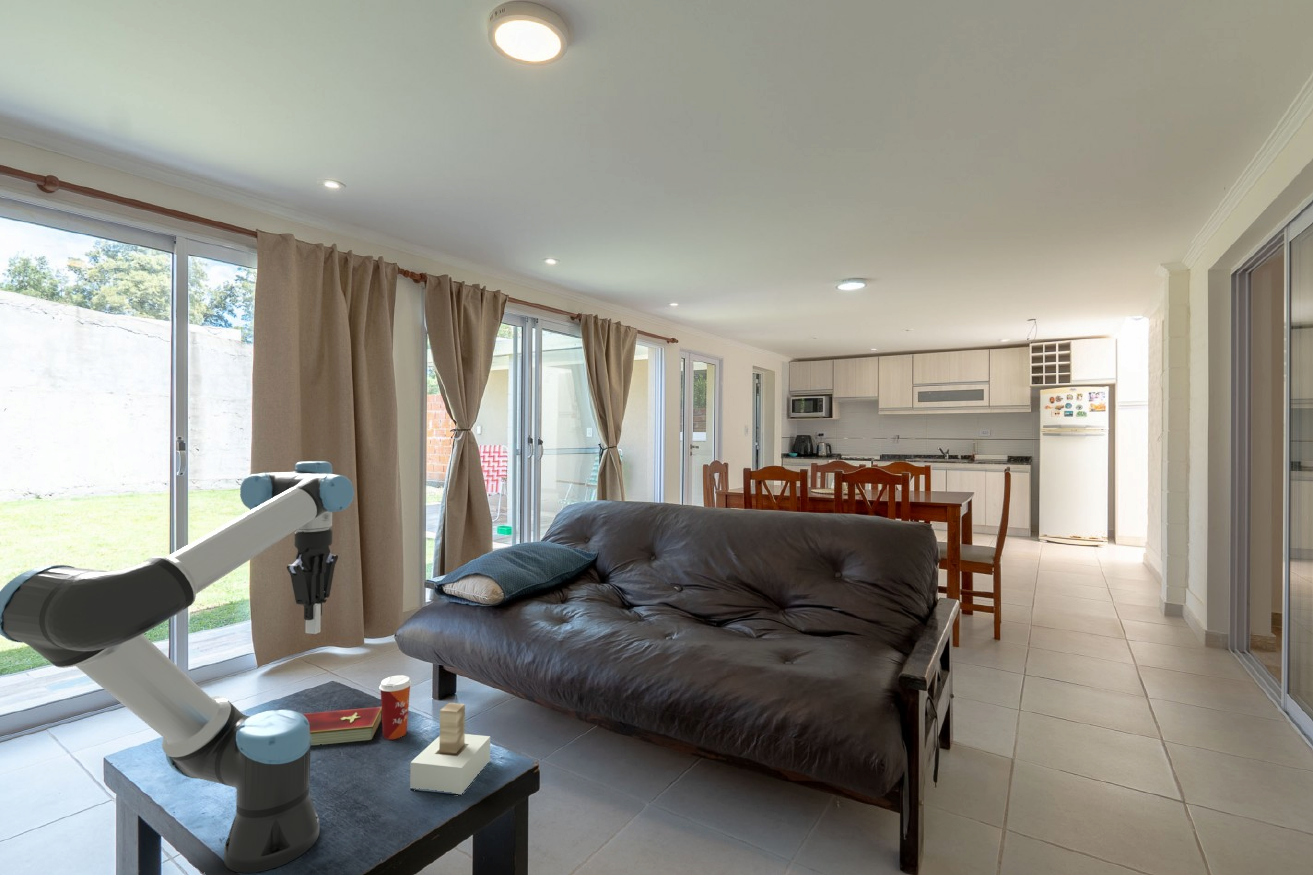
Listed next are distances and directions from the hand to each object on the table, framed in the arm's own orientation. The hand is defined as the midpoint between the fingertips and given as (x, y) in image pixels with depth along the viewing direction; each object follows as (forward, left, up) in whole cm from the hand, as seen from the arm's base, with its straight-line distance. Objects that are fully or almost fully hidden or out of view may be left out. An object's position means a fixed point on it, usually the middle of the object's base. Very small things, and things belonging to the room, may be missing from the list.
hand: (312, 632), depth 137 cm
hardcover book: (+18, +8, -33) cm, 39 cm away
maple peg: (+6, -31, -31) cm, 44 cm away
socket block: (+6, -31, -32) cm, 45 cm away
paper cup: (+21, -7, -33) cm, 39 cm away
